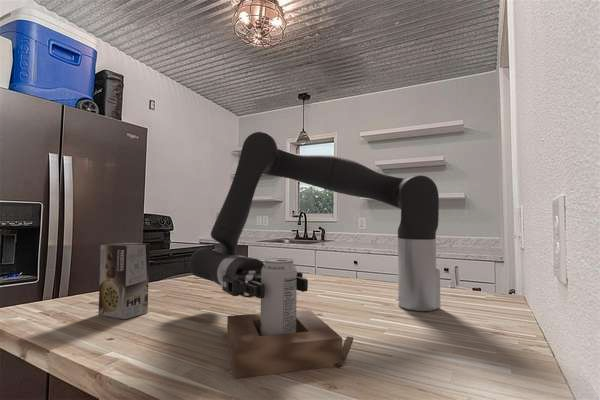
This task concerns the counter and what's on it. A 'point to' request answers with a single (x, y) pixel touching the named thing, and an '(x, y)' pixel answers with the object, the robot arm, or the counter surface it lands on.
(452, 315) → the counter surface
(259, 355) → the socket block
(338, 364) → the brown wooden stick
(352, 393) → the counter surface
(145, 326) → the counter surface
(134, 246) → the coffee box
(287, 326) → the energy drink can
